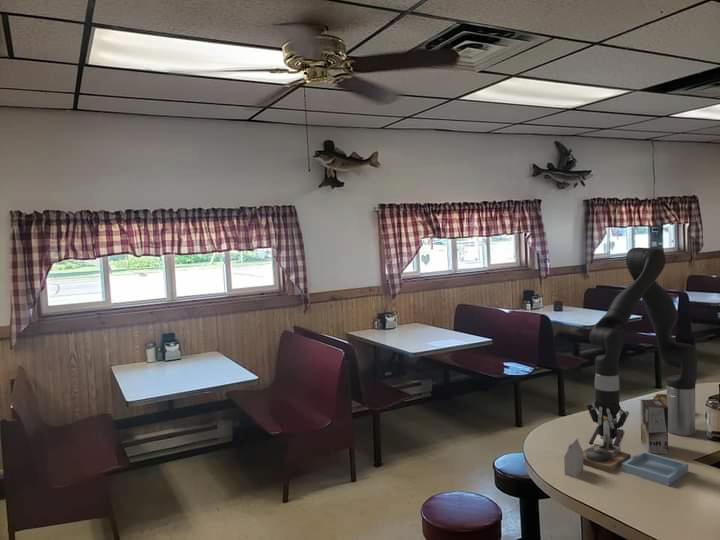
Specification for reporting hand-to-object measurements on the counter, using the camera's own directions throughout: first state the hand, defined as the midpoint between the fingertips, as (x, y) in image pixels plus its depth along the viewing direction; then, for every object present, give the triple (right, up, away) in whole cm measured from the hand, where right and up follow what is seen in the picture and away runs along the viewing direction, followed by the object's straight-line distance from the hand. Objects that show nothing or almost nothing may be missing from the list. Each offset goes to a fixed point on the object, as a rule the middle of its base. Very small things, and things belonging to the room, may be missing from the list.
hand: (607, 436), depth 185 cm
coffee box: (+19, -6, +6) cm, 21 cm away
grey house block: (-15, -9, -9) cm, 19 cm away
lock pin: (0, -4, 0) cm, 4 cm away
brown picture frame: (+8, -6, +18) cm, 20 cm away
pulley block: (-3, -7, -2) cm, 8 cm away
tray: (+10, -8, -11) cm, 17 cm away
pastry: (+44, -3, +41) cm, 60 cm away
